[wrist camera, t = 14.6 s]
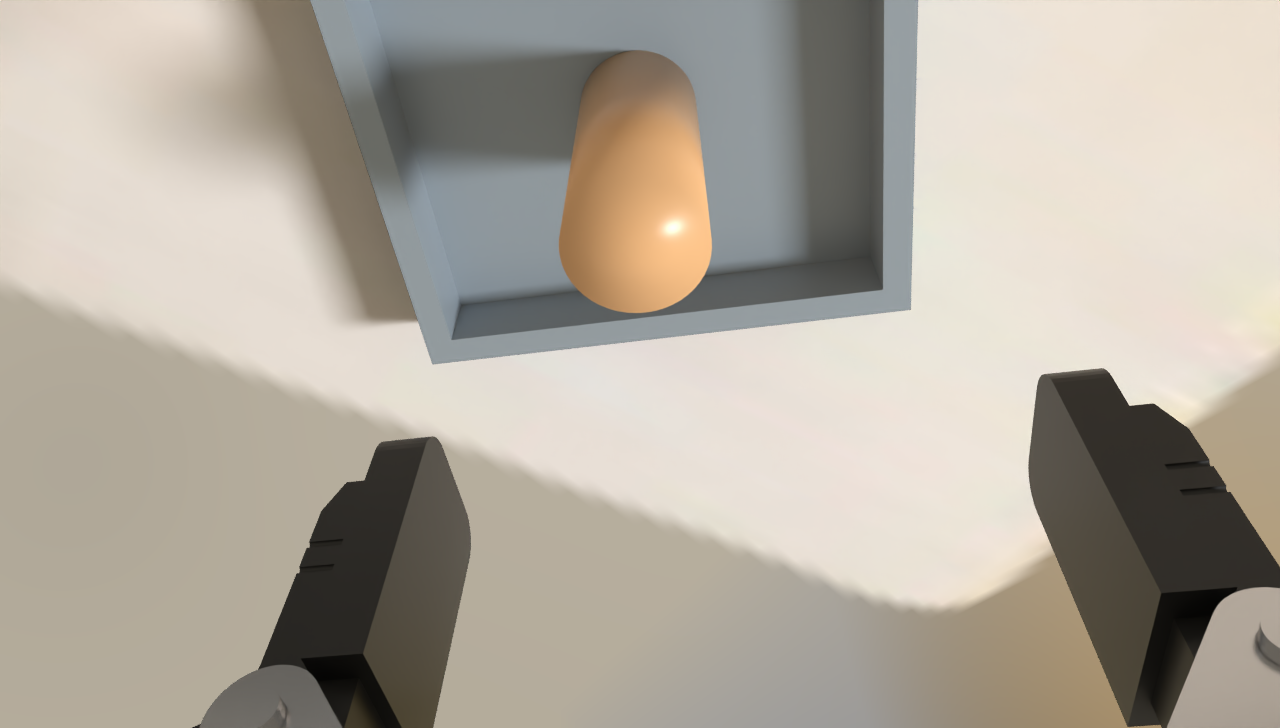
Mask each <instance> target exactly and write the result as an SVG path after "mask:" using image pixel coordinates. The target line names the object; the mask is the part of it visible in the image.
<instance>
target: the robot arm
mask: <svg viewBox="0 0 1280 728" xmlns="http://www.w3.org/2000/svg"><path fill="white" fill-rule="evenodd" d="M1029 481H1030V488H1031V493H1032V497H1033V501H1034V505H1035V508H1036V510H1037V513H1038V515H1039V517H1040V520H1041V522H1042V525H1043V527H1044V529H1045V532H1046V534H1047V536H1048V539H1049V541H1050V544H1051V546H1052V548H1053V551H1054V553H1055V555H1056V558H1057V560H1058V563H1059V565H1060V567H1061V570H1062V572H1063V574H1064V576H1065V579H1066V581H1067V584H1068V586H1069V588H1070V591H1071V593H1072V596H1073V598H1074V601H1075V603H1076V605H1077V608H1078V610H1079V612H1080V615H1081V617H1082V619H1083V622H1084V624H1085V627H1086V629H1087V631H1088V634H1089V636H1090V639H1091V641H1092V643H1093V646H1094V648H1095V650H1096V653H1097V655H1098V658H1099V660H1100V662H1101V665H1102V667H1103V669H1104V672H1105V674H1106V676H1107V679H1108V681H1109V683H1110V686H1111V688H1112V691H1113V693H1114V695H1115V698H1116V700H1117V703H1118V705H1119V707H1120V710H1121V712H1122V714H1123V717H1124V719H1125V721H1126V724H1127V726H1128V727H1132V726H1147V725H1161V727H1162V728H1280V567H1279V565H1278V564H1277V562H1276V561H1275V559H1274V558H1273V556H1272V555H1271V553H1270V552H1269V550H1268V548H1267V547H1266V545H1265V544H1264V542H1263V541H1262V540H1261V538H1260V537H1259V535H1258V533H1257V532H1256V530H1255V529H1254V527H1253V526H1252V524H1251V523H1250V521H1249V520H1248V518H1247V517H1246V515H1245V513H1244V512H1243V510H1242V509H1241V507H1240V506H1239V504H1238V503H1237V501H1236V500H1235V498H1234V497H1233V495H1232V494H1231V492H1227V490H1226V485H1225V483H1224V481H1223V480H1222V478H1221V477H1220V475H1219V474H1218V473H1217V471H1216V469H1215V468H1214V466H1210V464H1209V459H1208V457H1207V456H1206V454H1205V453H1204V451H1203V449H1202V448H1201V446H1200V445H1199V443H1198V442H1197V440H1196V439H1195V437H1194V436H1193V434H1192V433H1191V431H1190V430H1189V429H1188V428H1187V427H1186V426H1184V425H1183V424H1181V423H1180V422H1179V421H1177V420H1176V419H1175V418H1173V417H1172V416H1170V415H1169V414H1168V413H1166V412H1165V411H1163V410H1162V409H1161V408H1159V407H1158V406H1157V405H1155V404H1144V405H1134V406H1129V405H1128V403H1127V401H1126V400H1125V398H1124V396H1123V395H1122V393H1121V391H1120V389H1119V388H1118V386H1117V384H1116V383H1115V381H1114V379H1113V378H1112V376H1111V375H1110V373H1109V372H1108V371H1107V370H1105V369H1102V368H1100V369H1091V370H1081V371H1071V372H1062V373H1052V374H1044V375H1042V376H1041V377H1040V379H1039V381H1038V385H1037V392H1036V401H1035V410H1034V418H1033V427H1032V436H1031V445H1030V454H1029ZM470 550H471V536H470V526H469V520H468V516H467V513H466V510H465V507H464V504H463V502H462V499H461V496H460V493H459V491H458V488H457V485H456V483H455V480H454V477H453V474H452V472H451V469H450V466H449V464H448V461H447V458H446V456H445V453H444V450H443V448H442V445H441V443H440V442H439V440H438V439H437V438H436V437H423V438H414V439H405V440H395V441H385V442H381V443H380V444H379V445H378V446H377V448H376V450H375V453H374V456H373V458H372V461H371V464H370V467H369V469H368V472H367V475H366V478H365V481H356V482H347V483H346V484H345V485H344V486H343V487H342V488H341V490H340V491H339V492H338V493H337V494H336V495H335V496H334V497H333V499H332V500H331V501H330V502H329V503H328V504H327V505H326V507H325V508H324V509H323V510H322V511H321V514H320V516H319V519H318V521H317V524H316V526H315V529H314V531H313V534H312V536H311V539H310V548H307V549H306V551H305V554H304V556H303V559H302V561H301V564H300V573H297V574H296V577H295V579H294V582H293V584H292V587H291V589H290V592H289V594H288V597H287V599H286V602H285V604H284V607H283V609H282V612H281V615H280V617H279V619H278V622H277V624H276V627H275V630H274V632H273V635H272V637H271V640H270V642H269V645H268V647H267V650H266V652H265V655H264V657H263V660H262V663H261V665H260V667H259V669H258V670H256V671H254V672H251V673H249V674H247V675H246V676H244V677H242V678H240V679H239V680H237V681H236V682H235V683H233V684H232V685H230V686H229V687H228V688H227V689H226V690H224V691H223V692H222V693H221V694H220V695H219V696H218V698H217V699H216V700H215V701H214V702H213V704H212V705H211V706H210V708H209V709H208V711H207V712H206V714H205V716H204V718H203V720H202V723H201V724H200V725H198V726H195V727H193V728H433V725H434V721H435V716H436V711H437V706H438V702H439V697H440V693H441V688H442V683H443V679H444V674H445V670H446V665H447V660H448V656H449V651H450V647H451V642H452V637H453V633H454V628H455V623H456V619H457V613H458V609H459V605H460V600H461V596H462V591H463V586H464V581H465V577H466V572H467V568H468V563H469V558H470Z"/></svg>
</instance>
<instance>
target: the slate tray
mask: <svg viewBox="0 0 1280 728" xmlns="http://www.w3.org/2000/svg"><path fill="white" fill-rule="evenodd" d="M310 1H311V4H312V7H313V10H314V13H315V16H316V19H317V22H318V25H319V28H320V31H321V34H322V36H323V39H324V42H325V45H326V48H327V51H328V54H329V57H330V60H331V63H332V66H333V69H334V72H335V75H336V78H337V81H338V84H339V87H340V90H341V93H342V96H343V99H344V102H345V105H346V108H347V111H348V114H349V117H350V120H351V123H352V126H353V129H354V132H355V135H356V138H357V141H358V144H359V147H360V150H361V153H362V156H363V159H364V162H365V165H366V168H367V171H368V174H369V177H370V180H371V183H372V185H373V188H374V191H375V194H376V197H377V200H378V203H379V206H380V209H381V212H382V215H383V218H384V221H385V224H386V227H387V230H388V233H389V236H390V239H391V242H392V245H393V248H394V251H395V254H396V257H397V260H398V263H399V266H400V269H401V272H402V275H403V278H404V281H405V284H406V287H407V290H408V293H409V296H410V299H411V302H412V305H413V308H414V311H415V314H416V317H417V320H418V323H419V326H420V329H421V332H422V334H423V337H424V340H425V343H426V346H427V349H428V352H429V355H430V358H431V361H432V364H441V363H449V362H458V361H467V360H476V359H484V358H493V357H502V356H511V355H519V354H528V353H537V352H545V351H554V350H563V349H572V348H580V347H589V346H598V345H607V344H615V343H624V342H633V341H642V340H650V339H659V338H668V337H677V336H685V335H694V334H703V333H712V332H720V331H729V330H738V329H747V328H755V327H764V326H773V325H782V324H790V323H799V322H808V321H816V320H825V319H834V318H843V317H851V316H860V315H869V314H878V313H886V312H895V311H904V310H911V275H912V233H913V191H914V149H915V107H916V65H917V23H918V0H310ZM634 50H642V51H650V52H654V53H657V54H660V55H662V56H664V57H667V58H668V59H670V60H671V61H673V62H674V63H675V64H677V65H678V66H679V67H680V68H681V69H682V70H683V71H684V73H685V74H686V75H687V77H688V79H689V80H690V82H691V84H692V87H693V90H694V93H695V98H696V105H697V114H698V123H699V132H700V140H701V149H702V158H703V167H704V176H705V185H706V193H707V202H708V211H709V220H710V229H711V238H712V252H711V259H710V262H709V266H708V268H707V271H706V273H705V275H704V276H703V278H702V280H701V281H700V283H699V284H698V285H697V286H696V288H695V289H694V290H693V291H692V292H691V293H689V294H688V295H687V296H686V297H684V298H683V299H682V300H680V301H678V302H677V303H675V304H673V305H671V306H668V307H666V308H663V309H660V310H657V311H652V312H646V313H626V312H620V311H615V310H612V309H608V308H606V307H603V306H601V305H598V304H597V303H595V302H593V301H591V300H590V299H588V298H587V297H586V296H584V295H583V294H582V293H581V292H580V291H579V290H578V289H577V288H576V287H575V286H574V285H573V284H572V282H571V281H570V280H569V278H568V276H567V275H566V273H565V271H564V268H563V266H562V263H561V259H560V254H559V235H560V229H561V222H562V216H563V210H564V203H565V197H566V191H567V184H568V178H569V172H570V165H571V159H572V152H573V146H574V140H575V133H576V127H577V121H578V114H579V108H580V102H581V95H582V91H583V88H584V86H585V83H586V81H587V79H588V78H589V76H590V75H591V73H592V72H593V71H594V70H595V68H596V67H598V66H599V65H600V64H601V63H602V62H604V61H605V60H606V59H608V58H610V57H612V56H614V55H616V54H619V53H622V52H627V51H634Z"/></svg>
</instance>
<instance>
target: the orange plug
mask: <svg viewBox="0 0 1280 728" xmlns="http://www.w3.org/2000/svg"><path fill="white" fill-rule="evenodd" d="M711 252H712V238H711V229H710V220H709V211H708V202H707V193H706V185H705V176H704V167H703V158H702V149H701V140H700V132H699V123H698V114H697V105H696V98H695V93H694V90H693V87H692V84H691V82H690V80H689V79H688V77H687V75H686V74H685V73H684V71H683V70H682V69H681V68H680V67H679V66H678V65H677V64H675V63H674V62H673V61H671V60H670V59H668V58H667V57H664V56H662V55H660V54H657V53H654V52H650V51H642V50H634V51H627V52H622V53H619V54H616V55H614V56H612V57H610V58H608V59H606V60H605V61H604V62H602V63H601V64H600V65H599V66H598V67H596V68H595V70H594V71H593V72H592V73H591V75H590V76H589V78H588V79H587V81H586V83H585V86H584V88H583V91H582V95H581V102H580V108H579V114H578V121H577V127H576V133H575V140H574V146H573V152H572V159H571V165H570V172H569V178H568V184H567V191H566V197H565V203H564V210H563V216H562V222H561V229H560V235H559V254H560V259H561V263H562V266H563V268H564V271H565V273H566V275H567V276H568V278H569V280H570V281H571V282H572V284H573V285H574V286H575V287H576V288H577V289H578V290H579V291H580V292H581V293H582V294H583V295H584V296H586V297H587V298H588V299H590V300H591V301H593V302H595V303H597V304H598V305H601V306H603V307H606V308H608V309H612V310H615V311H620V312H626V313H646V312H652V311H657V310H660V309H663V308H666V307H668V306H671V305H673V304H675V303H677V302H678V301H680V300H682V299H683V298H684V297H686V296H687V295H688V294H689V293H691V292H692V291H693V290H694V289H695V288H696V286H697V285H698V284H699V283H700V281H701V280H702V278H703V276H704V275H705V273H706V271H707V268H708V266H709V262H710V259H711Z"/></svg>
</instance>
